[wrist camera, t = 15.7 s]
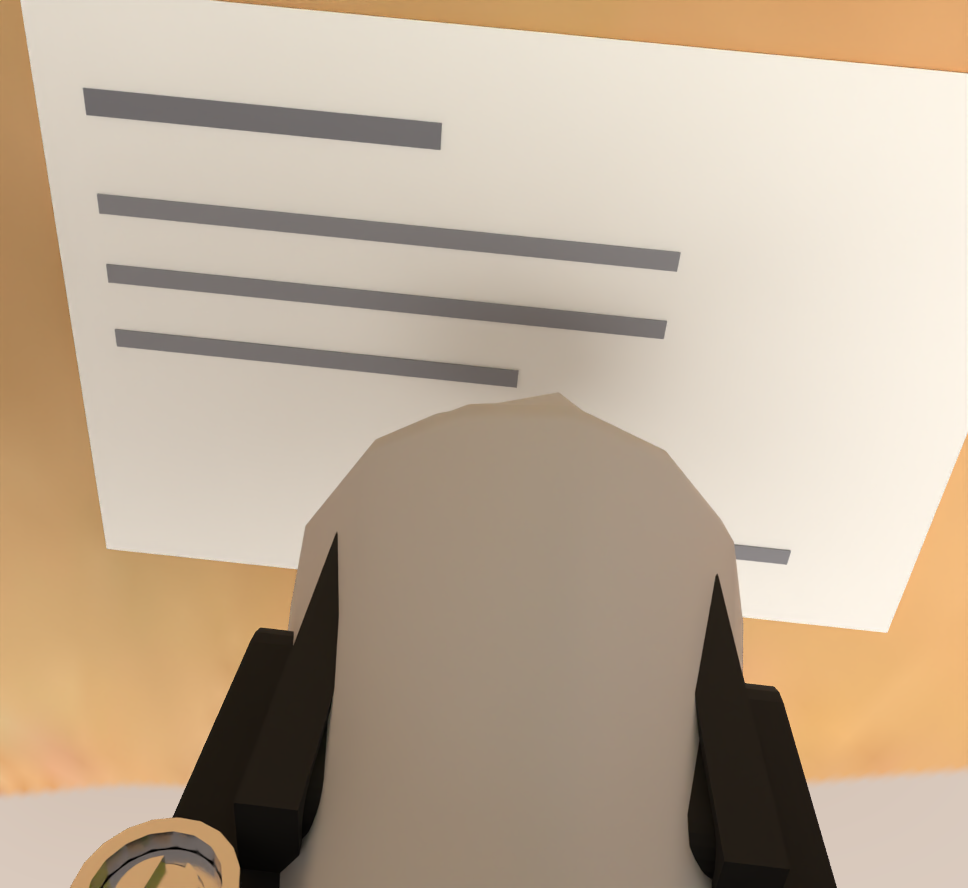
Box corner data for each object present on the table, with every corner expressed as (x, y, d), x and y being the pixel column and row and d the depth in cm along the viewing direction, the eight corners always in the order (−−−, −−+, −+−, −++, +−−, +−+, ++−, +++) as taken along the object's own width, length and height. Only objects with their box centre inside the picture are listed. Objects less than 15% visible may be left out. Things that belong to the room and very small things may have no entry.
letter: (108, 546, 23) (105, 550, 23) (20, -19, 17) (15, -18, 17) (885, 630, 23) (887, 634, 23) (1103, 86, 16) (1107, 87, 16)
